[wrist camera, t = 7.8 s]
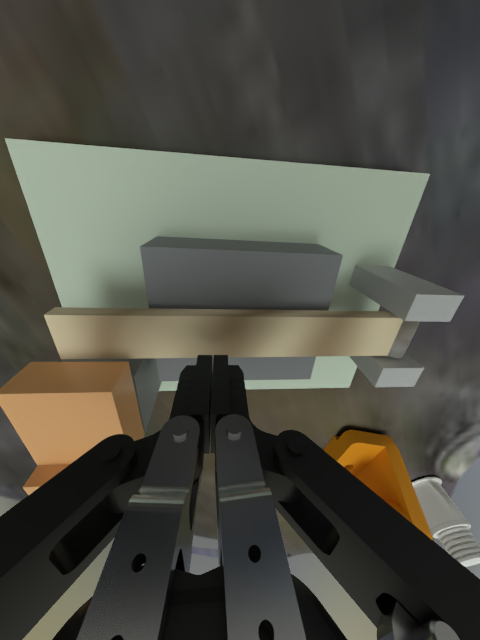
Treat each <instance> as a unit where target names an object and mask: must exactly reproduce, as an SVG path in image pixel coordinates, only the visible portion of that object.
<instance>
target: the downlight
mask: <svg viewBox="0 0 480 640" xmlns="http://www.w3.org/2000/svg"><path fill="white" fill-rule="evenodd" d="M411 483H412V485H413V488H414V490H415V493H416V496H417V498H418V501H419V503H420V506H421V508H422V511H423V514H424V516H425V519H426V521H427V524H428V526H429V529H430V532H431V534H432V536H433V537H434V538H438V539H439V540H440V541H441V543H442V545H443V546H444V548H445V550H446V551H448V552H447V553H448V554H450V555H451V556H452V557H453V558H455V559H456V560H457V561H458V562H459V563H461V564H462V565H463V566H464V567H467V566H471V565H475V564H479V563H480V545H479V544H478V543H477V540H476V539H475V538H473V535H472V534H471V533H470V531H469V529H470V528H471V526H470V524H469V523H468V521H467V520H466V519H465V517H464V516H463V515H462V513H461V512H460V511H459V509H458V508H457V507H456V505H455V504H454V502H453V501H452V500H451V498H450V497H449V496H448V494H447V493H446V492H445V490H444V489H443V488H442V486H441V484H442V480H441V479H440V478H438V477H424V478H422V479H419V480H416V481H413V482H411Z"/></svg>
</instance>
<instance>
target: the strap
mask: <svg viewBox="0 0 480 640" xmlns="http://www.w3.org/2000/svg"><path fill="white" fill-rule="evenodd" d="M44 317H45V319H46V322H47V325H48V327H49V330H50V332H51V335H52V337H53V340H54V343H55V345H56V348H57V350H58V353H59V355H60V358H61V359H137V358H197V357H198V355H212V356H213V357H214V355H228V357H316V356H390V357H393V358H402V357H403V356H404V354H405V352H406V350H407V348H408V346H409V344H410V342H411V340H412V338H413V336H414V334H415V332H416V329H417V327H418V325H419V323H420V321H404V320H402V319H401V318H399V317H398V316H396V315H395V314H393V313H391V312H390V311H323V310H241V309H158V308H76V307H55V308H53V309H52V310H50V311H49V312H47V313H46V314H44Z"/></svg>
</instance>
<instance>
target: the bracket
mask: <svg viewBox="0 0 480 640" xmlns="http://www.w3.org/2000/svg"><path fill="white" fill-rule="evenodd" d="M324 451H325V452H326V453H327V454H329V455H330V456H331V457H332V458H333V459H335V460H336V461H337V462H338V463H340V464H341V465H342V466H343V467H344V468H346V469H347V470H348V471H349V472H350V473H352V474H353V475H354V476H355V477H356V478H358V479H359V480H360V481H361V482H363V483H364V484H365V485H366V486H367V487H369V488H370V489H371V490H372V491H373V492H375V493H376V494H377V495H378V496H379V497H381V498H382V499H383V500H384V501H386V502H387V503H388V504H389V505H390V506H392V507H393V508H394V509H395V510H396V511H398V512H399V513H400V514H401V515H402V516H404V517H405V518H406V519H407V520H409V521H410V522H411V523H412V524H413V525H415V526H416V527H417V528H418V529H419V530H421V531H422V532H423V533H424V534H425V535H427V536H428V537H429V538H430V539H432V540H433V538H432V535H431V532H430V529H429V526H428V524H427V521H426V519H425V516H424V514H423V511H422V508H421V506H420V503H419V501H418V498H417V496H416V493H415V490H414V488H413V485H412V483H411V480H410V477H409V475H408V472H407V470H406V467H405V465H404V462H403V459H402V457H401V454H400V452H399V449H398V448H397V446H396V445H395V443H394V442H393V441H392V439H391V438H390V436H386V435H380V434H374V433H368V432H363V431H357V430H347V431H345V432H344V433H343V434H342V435H341V436H334V437H333V438H332V439H331V441H330V442H329V443H328V445H327V446H326V447H325V448H324Z"/></svg>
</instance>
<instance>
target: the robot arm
mask: <svg viewBox="0 0 480 640" xmlns="http://www.w3.org/2000/svg"><path fill="white" fill-rule="evenodd" d="M210 427H211V453H215V486H216V508H217V530H218V563H219V567H217V568H215V569H213V570H211V571H209V572H206V573H204V574H202V575H194V574H191V573H189V571H190V564H191V554H192V540H193V531H194V524H195V517H196V510H197V503H198V496H199V489H200V482H201V474H202V469H203V458H204V453H209V447H210ZM275 508H276V509H277V510H278V511H279V513H280V514H281V515H282V516H283V517H284V518H285V520H286V521H287V522H288V523H289V524H290V526H291V527H292V528H293V529H294V530H295V531H296V533H297V534H298V535H299V536H300V537H301V539H302V540H303V541H304V542H305V543H306V544H307V546H308V547H309V548H310V549H311V550H312V552H313V553H314V554H315V555H316V556H317V557H318V559H319V560H320V561H321V562H322V563H323V565H324V566H325V567H326V568H327V569H328V570H329V572H330V573H331V574H332V575H333V576H334V578H335V579H336V580H337V581H338V582H339V584H340V585H341V586H342V587H343V588H344V589H345V591H346V592H347V593H348V594H349V595H350V597H351V598H352V599H353V600H354V601H355V602H356V604H357V605H358V606H359V607H360V608H361V610H362V611H363V612H364V613H365V614H366V615H367V617H368V618H369V619H370V620H371V621H372V623H373V624H374V625H375V626H376V627H377V640H480V579H479V578H478V577H476V576H475V575H474V574H473V573H471V572H470V571H469V570H468V569H467V568H465V567H464V566H463V565H462V564H461V563H459V562H458V561H457V560H456V559H455V558H453V557H452V556H451V555H450V554H448V553H447V552H446V551H445V550H444V549H442V548H441V547H440V546H439V545H437V544H436V543H435V542H434V541H433V540H432V539H430V538H429V537H428V536H427V535H425V534H424V533H423V532H422V531H421V530H419V529H418V528H417V527H416V526H415V525H413V524H412V523H411V522H410V521H409V520H407V519H406V518H405V517H404V516H402V515H401V514H400V513H399V512H398V511H396V510H395V509H394V508H393V507H392V506H390V505H389V504H388V503H387V502H386V501H384V500H383V499H382V498H381V497H379V496H378V495H377V494H376V493H375V492H373V491H372V490H371V489H370V488H369V487H367V486H366V485H365V484H364V483H363V482H361V481H360V480H359V479H358V478H356V477H355V476H354V475H353V474H352V473H350V472H349V471H348V470H347V469H346V468H344V467H343V466H342V465H341V464H340V463H338V462H337V461H336V460H335V459H333V458H332V457H331V456H330V455H329V454H327V453H326V452H325V451H324V450H323V449H321V448H320V447H319V446H318V445H317V444H315V443H314V442H313V441H312V440H310V439H309V438H308V437H307V436H306V435H304V434H303V433H301V432H298V431H295V430H286V431H283V432H281V433H280V434H279V435H278V436H276V435H273V434H269V433H266V432H263V431H261V430H259V429H258V428H256V427H255V426H254V425H253V423H252V422H251V420H250V418H249V413H248V405H247V397H246V389H245V382H244V373H243V371H242V369H241V368H240V367H239V365H228V355H214V357H213V356H212V355H198V357H197V363H196V365H186V367H185V368H184V369H183V370H182V371H181V373H180V377H179V382H178V385H177V390H176V394H175V398H174V402H173V406H172V411H171V415H170V418H169V420H168V421H167V422H166V423H165V424H164V426H163V427H162V429H161V430H160V431H158V432H157V433H155V434H153V435H151V436H148V437H145V438H142V439H139V440H136V441H134V440H133V439H132V437H130V436H128V435H125V434H116V435H112V436H110V437H107V438H105V439H104V440H102V441H101V442H99V443H98V444H97V445H95V446H94V447H93V448H91V449H90V450H89V451H87V452H86V453H85V454H83V455H82V456H81V457H79V458H78V459H77V460H75V461H74V462H73V463H71V464H70V465H69V466H67V467H66V468H65V469H63V470H62V471H61V472H59V473H58V474H57V475H55V476H54V477H52V478H51V479H50V480H48V481H47V482H46V483H44V484H43V485H42V486H40V487H39V488H38V489H36V490H35V491H34V492H32V493H31V494H30V495H28V496H27V497H26V498H24V499H23V500H22V501H20V502H19V503H18V504H16V505H15V506H14V507H12V508H11V509H10V510H9V511H7V512H6V513H4V514H3V515H2V516H1V517H0V640H22V639H23V638H24V637H25V636H26V635H27V634H28V633H29V631H30V630H31V629H32V628H33V627H34V626H35V625H36V624H37V623H38V621H39V620H40V619H41V618H42V617H43V616H44V615H45V614H46V612H48V610H49V609H50V608H51V607H52V606H53V605H54V604H55V603H56V601H57V600H58V599H59V598H60V597H61V596H62V595H63V593H65V591H66V590H67V589H68V588H69V587H70V586H71V585H72V584H73V583H74V582H75V580H76V579H77V578H78V577H79V576H80V575H81V574H82V573H83V572H84V570H85V569H86V568H87V567H88V566H89V565H90V564H91V563H92V562H93V560H94V559H95V558H96V557H97V556H98V555H99V554H100V553H101V552H102V550H103V549H104V548H105V547H106V546H107V545H108V544H109V543H110V542H111V541H112V539H113V538H114V537H115V538H114V541H113V543H112V546H111V549H110V551H109V554H108V557H107V559H106V562H105V565H104V567H103V570H102V573H101V576H100V578H99V581H98V583H97V586H96V589H95V591H94V594H93V596H92V597H91V598H90V599H89V600H88V601H87V602H86V603H85V604H83V605H82V606H81V607H80V608H79V609H78V610H77V611H76V612H75V613H74V615H73V616H72V617H71V618H70V619H69V620H68V621H67V622H66V623H65V624H64V626H63V627H62V628H61V629H60V631H59V632H58V633H57V634H56V636H55V637H54V638H53V639H52V640H347V639H346V637H345V636H344V634H343V633H342V632H341V630H340V629H339V628H338V626H337V625H336V623H335V622H334V621H333V619H332V618H331V616H330V615H329V614H328V612H327V611H326V609H325V608H324V607H323V605H322V604H321V603H320V601H319V600H318V599H317V597H316V596H315V595H314V594H313V593H312V592H311V591H310V589H309V588H308V587H307V586H306V585H305V584H304V583H302V582H301V581H300V580H299V579H298V578H296V577H295V576H294V575H292V574H291V573H290V568H289V564H288V560H287V555H286V551H285V547H284V543H283V538H282V534H281V530H280V526H279V521H278V517H277V513H276V509H275Z"/></svg>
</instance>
